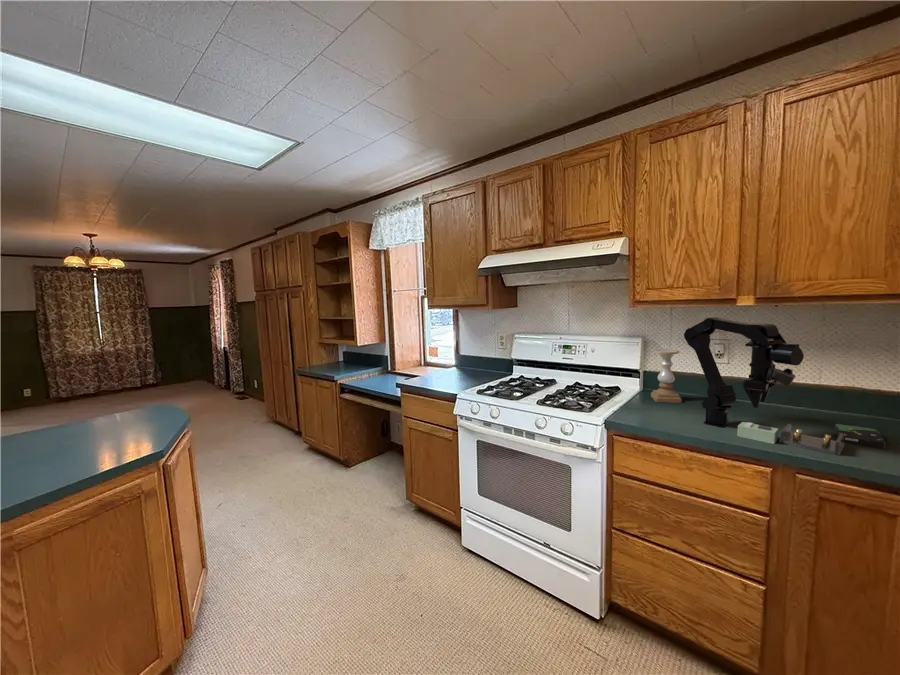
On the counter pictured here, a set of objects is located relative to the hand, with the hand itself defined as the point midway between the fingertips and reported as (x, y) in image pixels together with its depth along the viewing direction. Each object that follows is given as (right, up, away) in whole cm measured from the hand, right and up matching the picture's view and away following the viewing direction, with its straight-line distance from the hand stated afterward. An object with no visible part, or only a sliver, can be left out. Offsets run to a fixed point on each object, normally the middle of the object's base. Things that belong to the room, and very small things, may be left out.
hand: (759, 404), depth 128 cm
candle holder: (-3, -7, +50) cm, 51 cm away
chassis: (+12, -12, -6) cm, 18 cm away
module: (0, -12, +1) cm, 12 cm away
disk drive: (+31, -12, -3) cm, 34 cm away
